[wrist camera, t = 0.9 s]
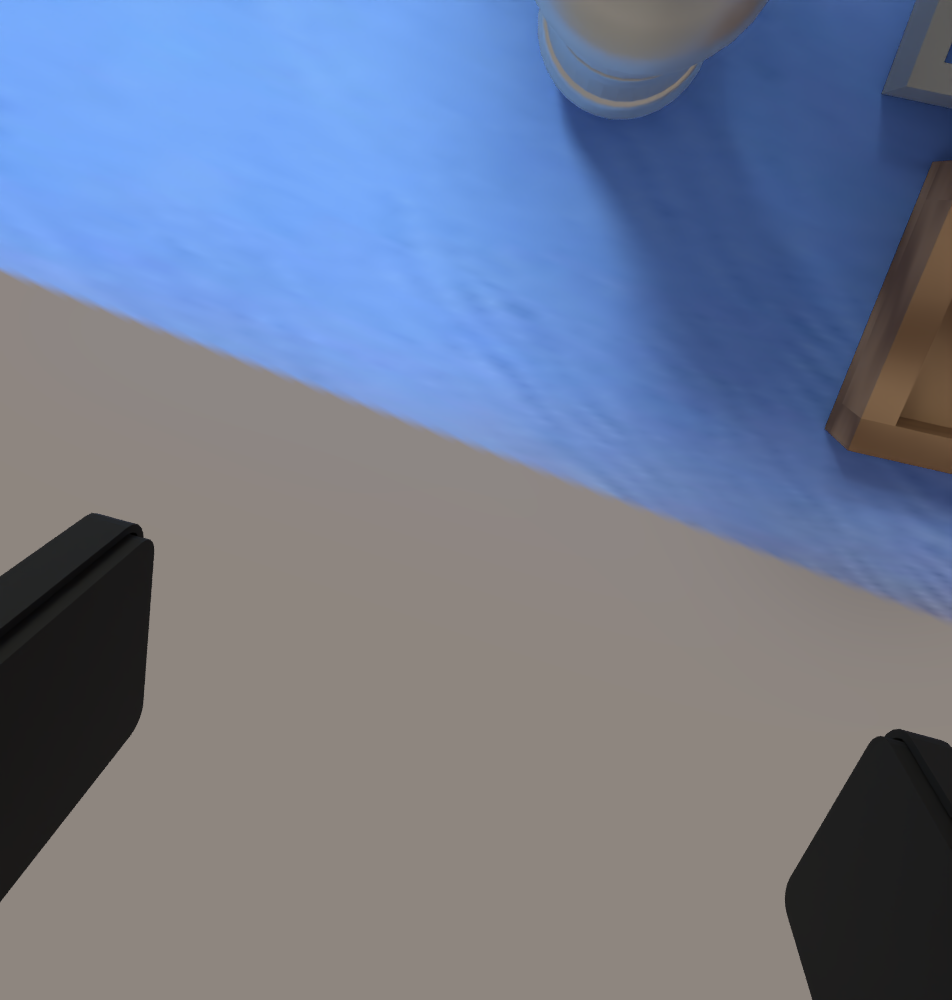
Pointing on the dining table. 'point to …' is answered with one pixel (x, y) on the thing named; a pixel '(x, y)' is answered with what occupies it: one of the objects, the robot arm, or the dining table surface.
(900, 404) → the walnut holder
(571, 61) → the pale grey bottle
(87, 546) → the robot arm
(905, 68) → the grey square frame
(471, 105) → the dining table surface
